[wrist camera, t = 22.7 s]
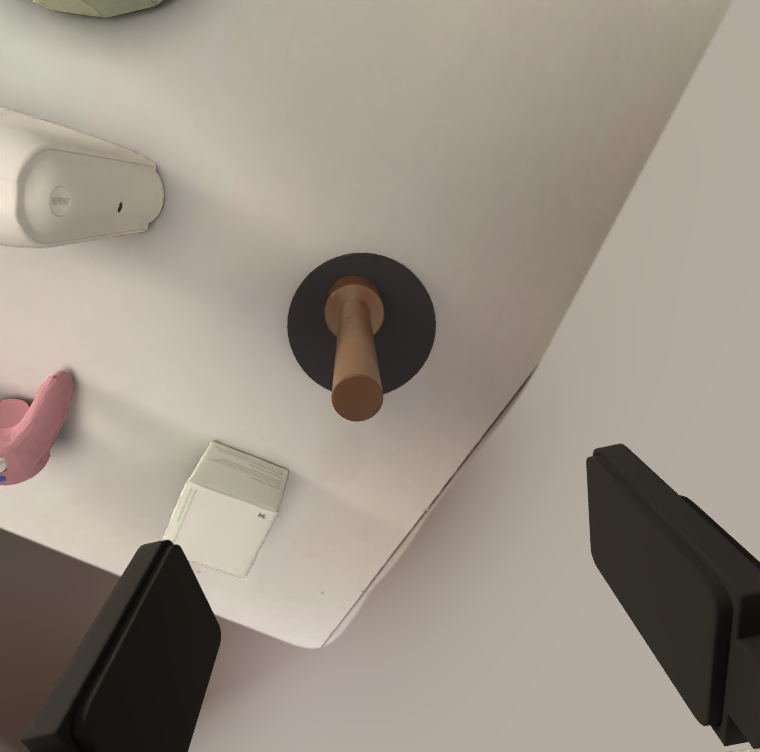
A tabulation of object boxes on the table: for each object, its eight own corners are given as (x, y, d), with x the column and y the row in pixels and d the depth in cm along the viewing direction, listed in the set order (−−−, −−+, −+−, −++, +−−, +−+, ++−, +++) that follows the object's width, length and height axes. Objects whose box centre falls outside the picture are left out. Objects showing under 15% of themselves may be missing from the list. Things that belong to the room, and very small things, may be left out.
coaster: (420, 237, 26) (421, 237, 26) (445, 378, 30) (446, 380, 29) (269, 272, 27) (268, 273, 26) (310, 408, 30) (310, 411, 29)
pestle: (378, 273, 27) (406, 344, 14) (382, 326, 28) (411, 439, 15) (324, 277, 26) (298, 353, 13) (329, 330, 28) (312, 448, 15)
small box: (210, 437, 30) (185, 479, 26) (291, 468, 31) (281, 514, 27) (182, 502, 32) (154, 553, 27) (260, 529, 33) (246, 582, 28)
